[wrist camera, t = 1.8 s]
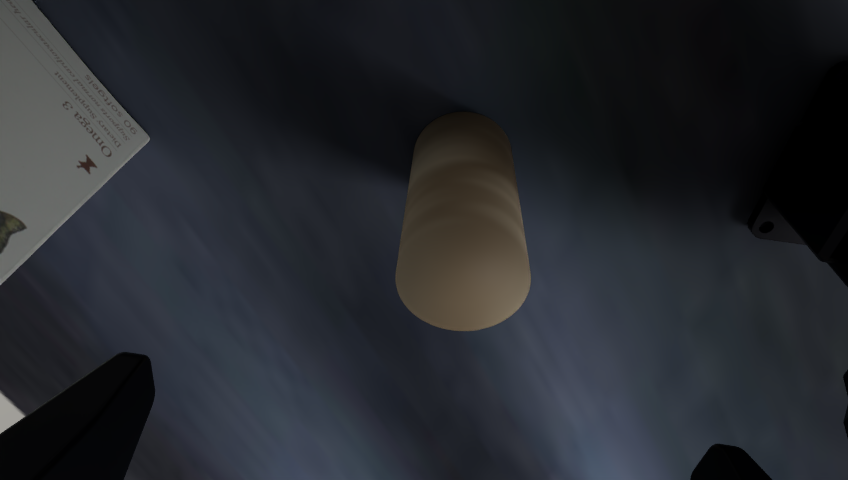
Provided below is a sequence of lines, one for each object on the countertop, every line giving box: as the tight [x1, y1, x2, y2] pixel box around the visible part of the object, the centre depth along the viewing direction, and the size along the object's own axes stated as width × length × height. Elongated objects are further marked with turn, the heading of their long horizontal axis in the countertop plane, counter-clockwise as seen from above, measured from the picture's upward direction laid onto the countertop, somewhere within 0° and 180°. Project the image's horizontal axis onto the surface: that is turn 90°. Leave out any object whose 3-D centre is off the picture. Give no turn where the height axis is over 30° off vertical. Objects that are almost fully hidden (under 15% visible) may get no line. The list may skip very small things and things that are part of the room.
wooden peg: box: [396, 112, 531, 331], centre depth 18 cm, size 4×4×7 cm
